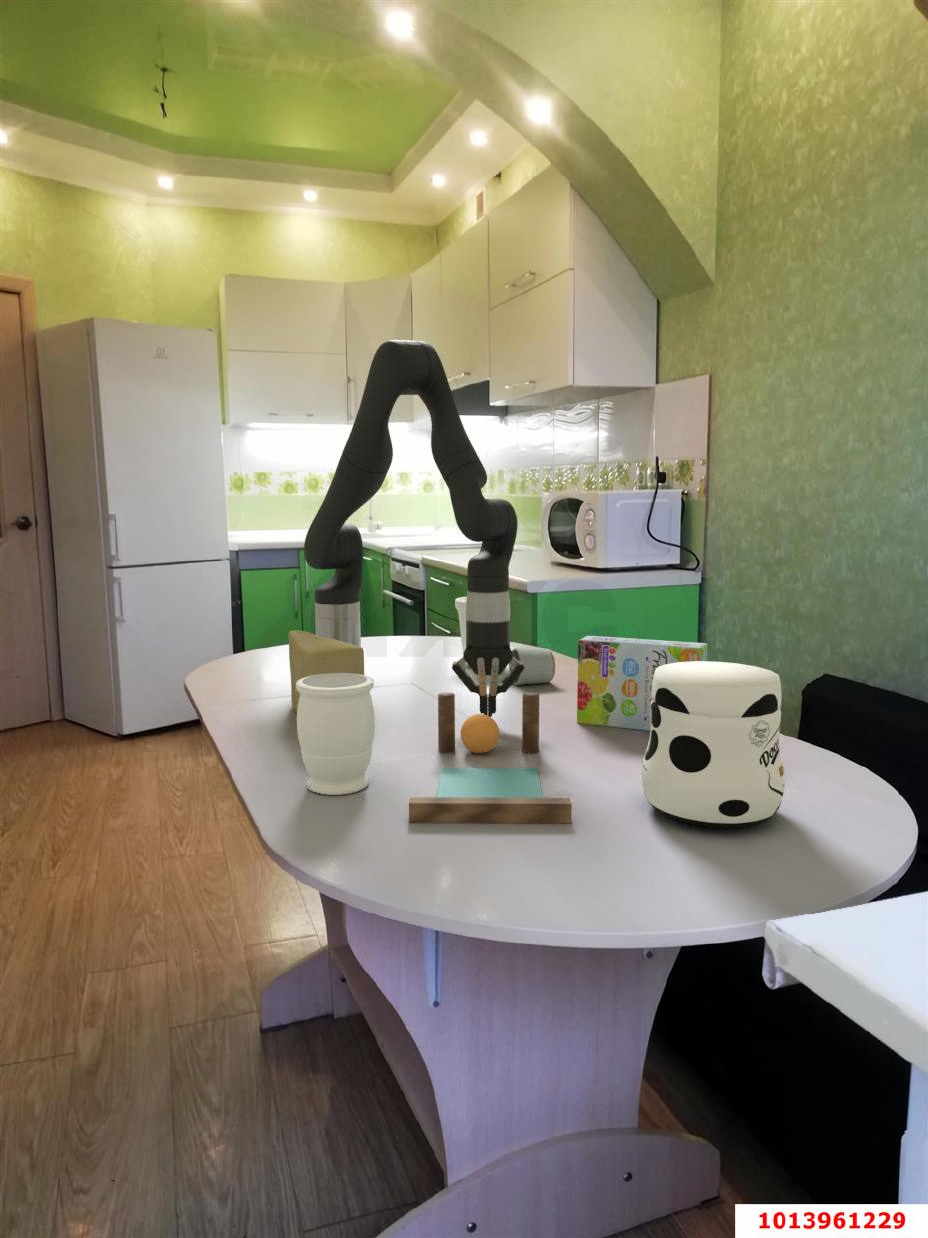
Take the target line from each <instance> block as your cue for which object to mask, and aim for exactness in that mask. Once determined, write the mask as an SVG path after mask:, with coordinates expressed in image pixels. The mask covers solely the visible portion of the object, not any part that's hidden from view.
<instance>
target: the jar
mask: <svg viewBox="0 0 928 1238" xmlns="http://www.w3.org/2000/svg"><path fill="white" fill-rule="evenodd" d="M374 681H375V680H374V678H373V677H371V676H369V675H365V674H364V675H360V674H350V673H331V674H320V675H313V676H308V677H305V678H302V679H300V680H298V681H297V682H296V689H297V691H298V692H299V693H300V698H299V702H298V709H297V712H296V729H297V731H296V732H297V738H298V743H299V746H300V751H301V757H302V761H303V765H304V767H305V769H306V771H307V773H308V775H309V776H310V777H308V779H307V780H306V781H307V782H306V787H307V789H308V790H310V791H311V792H313V793H315V792H316V793H315V794H319V793H320V794H319V795H325V794H326V796H343V795H350V794H354V793H357V792H360V791H362V790H364V789H365V788H367V786H368V785H369V778H368V776H367V775H366V774H365V773H366V772H367V769H368V767H369V764H370V762H371V758H372V753H373V752H372V751H373V744H374V737H375V731H376V730H375V727H376V725H375V724H376V722H375V721H376V718H375V717H376V716H375V715H376V714H375V709H374V703H373V699H372V695H371V690H372V689H373V688H374V685H375V683H374Z"/></svg>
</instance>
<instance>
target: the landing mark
mask: <svg viewBox="0 0 928 1238" xmlns="http://www.w3.org/2000/svg"><path fill="white" fill-rule="evenodd" d="M540 783H541V782H540V777H539V772H538V768H536V767H535V768H534V767H533V768H531V767H527V768H526V767H525V768H524V767H523V768H522V767H519V768H516V767H515V768H513V767H512V768H511V767H509V768H508V767H507V768H506V767H503V768H502V767H498V768H497V767H490V768H489V767H488V768H487V767H486V768H485V767H483V768H481V767H480V768H479V767H441V768H440V774H439V780H438V787H437V793H436V794H437V795H436V797H458V798H543V794H542V793H543V792H542V789H541V784H540Z"/></svg>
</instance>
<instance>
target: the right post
mask: <svg viewBox="0 0 928 1238" xmlns="http://www.w3.org/2000/svg"><path fill="white" fill-rule="evenodd" d="M521 703H522V708H521V709H522V713H521V714H522V723H521V724H522V725H521V726H522V729H521V731H522V733H521V734H522V735H521V736H522V739H521V741H522V744H521V745H522V747H521V749H522V752H523V753H526V754H536V753H539V751H540V694H539V693H537V692H525V693H522V702H521Z"/></svg>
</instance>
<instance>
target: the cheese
mask: <svg viewBox="0 0 928 1238" xmlns="http://www.w3.org/2000/svg"><path fill="white" fill-rule="evenodd" d="M288 657H289V670H290V688H291V691H290V692H291V693H290V694H291V708H292V707H293V708H294V709H295V710H296V711H295V710H294V709H293V708H292V709H293V710H294V711H295V712H296V713H297V709H298V702H299V698H300V693H299V692H298V691H297V689H296V682H297V681H298V680H300V679H302V678H305V677H308V676H313V675H320V674H331V673H350V674H360V675H365V650H364V649H363V647H362V646H361V647H359V646H355V645H351V644H348V643H345V642H342V641H338V640H334V639H329V638H325V637H321V636H318V635H316V633H315V634H314V633H312V632H309V631H305V630H302V629H297V630H289V632H288Z"/></svg>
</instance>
